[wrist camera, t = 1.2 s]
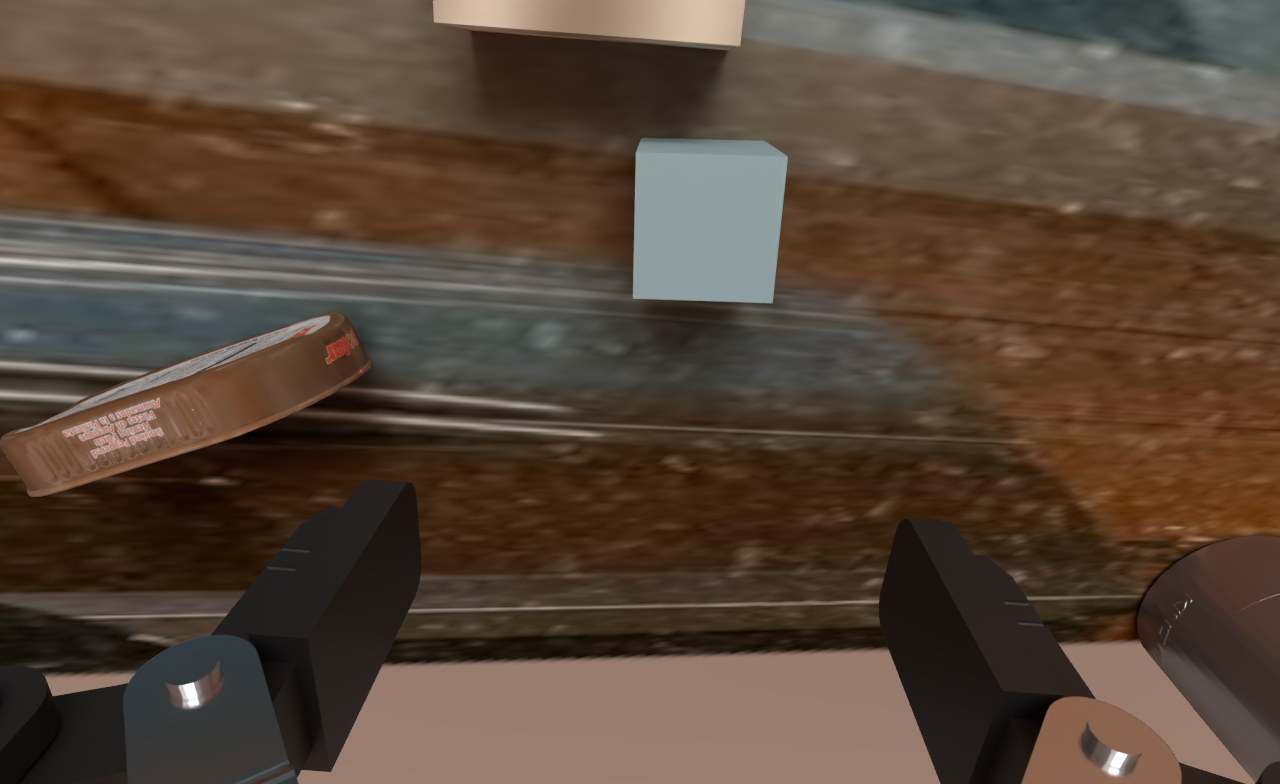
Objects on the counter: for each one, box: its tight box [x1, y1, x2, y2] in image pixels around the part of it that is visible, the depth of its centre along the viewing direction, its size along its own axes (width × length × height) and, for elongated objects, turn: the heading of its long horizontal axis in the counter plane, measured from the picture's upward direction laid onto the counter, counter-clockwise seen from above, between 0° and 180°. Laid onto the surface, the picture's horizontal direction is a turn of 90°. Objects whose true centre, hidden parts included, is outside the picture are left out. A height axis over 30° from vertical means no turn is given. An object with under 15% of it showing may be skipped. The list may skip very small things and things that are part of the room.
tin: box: [0, 312, 372, 497], centre depth 30 cm, size 15×3×8 cm, turn 108°
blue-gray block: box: [633, 138, 788, 303], centre depth 27 cm, size 5×5×6 cm
